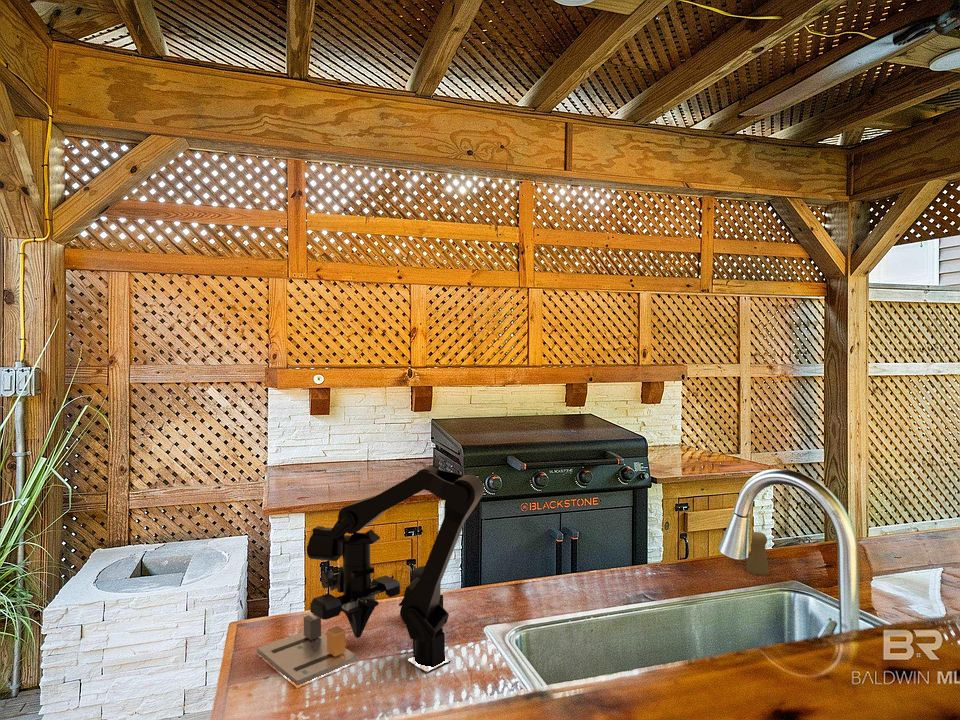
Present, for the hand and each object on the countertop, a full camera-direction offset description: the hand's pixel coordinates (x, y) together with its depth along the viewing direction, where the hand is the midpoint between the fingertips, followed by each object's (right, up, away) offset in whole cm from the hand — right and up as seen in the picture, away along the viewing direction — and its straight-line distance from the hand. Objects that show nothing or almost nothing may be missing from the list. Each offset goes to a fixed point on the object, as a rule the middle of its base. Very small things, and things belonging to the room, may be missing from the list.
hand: (357, 636), depth 120 cm
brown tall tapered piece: (+105, -3, +44) cm, 114 cm away
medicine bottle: (+13, -3, +15) cm, 20 cm away
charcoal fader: (-11, -2, +4) cm, 11 cm away
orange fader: (-4, -1, -3) cm, 5 cm away
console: (-10, -3, -3) cm, 11 cm away
